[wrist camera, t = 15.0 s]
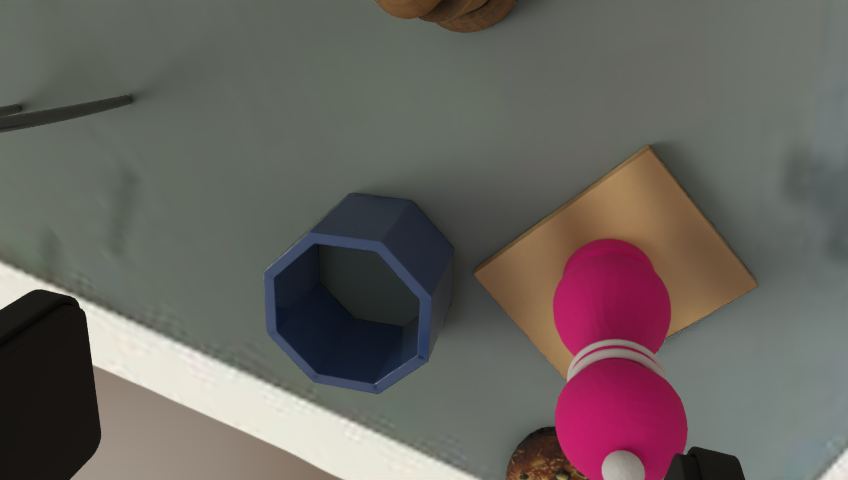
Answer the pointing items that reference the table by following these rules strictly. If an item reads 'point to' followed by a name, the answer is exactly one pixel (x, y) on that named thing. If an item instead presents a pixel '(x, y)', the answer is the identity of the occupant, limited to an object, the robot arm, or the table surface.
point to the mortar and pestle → (451, 12)
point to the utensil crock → (331, 324)
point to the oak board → (627, 221)
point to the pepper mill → (616, 366)
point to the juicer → (55, 113)
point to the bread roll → (541, 459)
